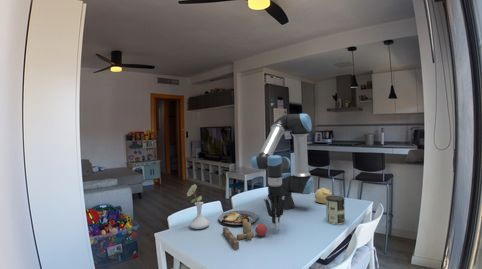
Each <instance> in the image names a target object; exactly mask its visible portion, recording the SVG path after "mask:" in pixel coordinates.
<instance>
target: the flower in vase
mask: <svg viewBox="0 0 482 269" xmlns="http://www.w3.org/2000/svg"><path fill="white" fill-rule="evenodd" d="M196 190H197V184H192V185H191V186H190V188H189V189H188V191H187V192H186V197H190V196H192V195H194V197H195V198H193V199H191V201H190V204H192V203H194V205H195V207H196V216H195V217H194V218H193V219H192V220H191V221H190V223H189V227H190V228H191V229H196V230H201V229H205V228H207V227H208V226H210V224H211V223H210V221H209V220H208V219H206V218H205V217H204V216H203V215H202V206H203V204H204V202H203V201H201V200H202V198H203V196H202V195H199V196H198V197H197V196H196V193H195V191H196Z"/></svg>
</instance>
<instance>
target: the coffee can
mask: <svg viewBox="0 0 482 269" xmlns="http://www.w3.org/2000/svg"><path fill="white" fill-rule="evenodd" d="M345 199H346V198H345V197H344V196H341V195H336V194H335V195H333V194H332V195H331V196H326V204H325V205H326V209H325V211H326V212H325V214H326V220H325V221H326V222H327V223H329V224H332V225H343V224H345V223H346V221H345V220H346V218H345V215H346V214H345V212H346V211H345V209H346V208H345Z"/></svg>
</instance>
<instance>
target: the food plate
mask: <svg viewBox="0 0 482 269" xmlns="http://www.w3.org/2000/svg"><path fill="white" fill-rule="evenodd" d="M259 217H260V216H259V214H257V213H256V212H253V211H249V210H231V211H226V212H222V214H221V215H219V217H218V218H217V219H218V221H219V222H220V223H223V224H226V225H232V226H240V225H242V226H243V219H247V222H251V224H253V223H254V222H256V221H257V220H258V218H259ZM250 219H251V220H250Z"/></svg>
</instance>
